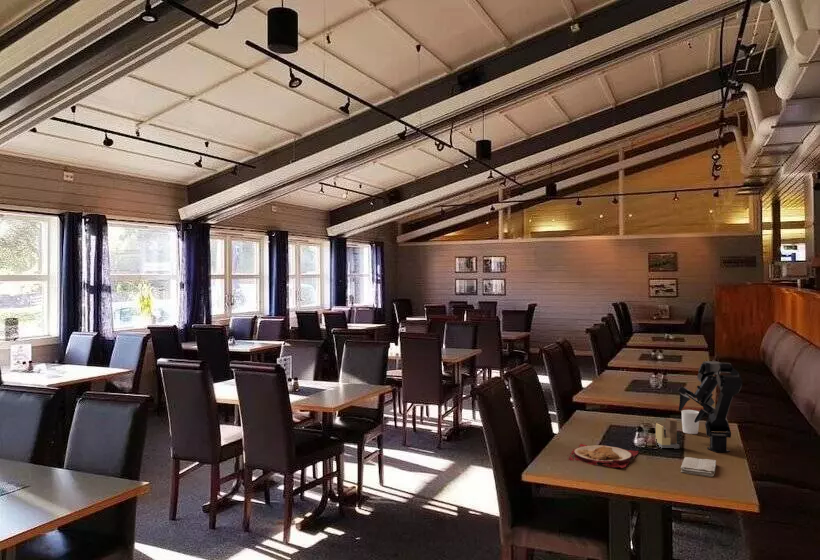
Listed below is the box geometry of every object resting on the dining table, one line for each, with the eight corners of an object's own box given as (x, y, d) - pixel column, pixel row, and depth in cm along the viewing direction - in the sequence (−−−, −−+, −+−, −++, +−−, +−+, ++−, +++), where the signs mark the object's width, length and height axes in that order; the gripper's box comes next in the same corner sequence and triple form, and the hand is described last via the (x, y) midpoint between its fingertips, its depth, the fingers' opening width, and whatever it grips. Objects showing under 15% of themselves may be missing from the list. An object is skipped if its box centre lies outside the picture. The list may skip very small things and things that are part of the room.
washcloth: (680, 474, 236) (680, 466, 236) (683, 461, 252) (683, 454, 252) (715, 479, 230) (715, 470, 230) (716, 466, 246) (716, 458, 246)
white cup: (695, 430, 301) (696, 410, 301) (701, 434, 293) (702, 413, 293) (678, 430, 302) (679, 409, 302) (684, 434, 294) (684, 413, 294)
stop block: (672, 440, 275) (672, 418, 274) (676, 443, 271) (676, 420, 270) (665, 441, 274) (665, 418, 274) (669, 443, 270) (670, 420, 270)
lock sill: (672, 444, 276) (672, 423, 276) (679, 448, 269) (679, 426, 269) (655, 444, 275) (655, 423, 275) (661, 448, 269) (662, 426, 269)
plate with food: (638, 455, 261) (638, 447, 261) (623, 470, 239) (623, 461, 239) (580, 447, 274) (580, 439, 274) (561, 461, 252) (561, 452, 252)
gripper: (733, 403, 275) (712, 432, 278) (700, 381, 291) (681, 408, 293) (719, 397, 269) (699, 427, 272) (687, 375, 285) (668, 403, 288)
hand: (687, 416), depth 281 cm, fingers open, 9 cm apart
